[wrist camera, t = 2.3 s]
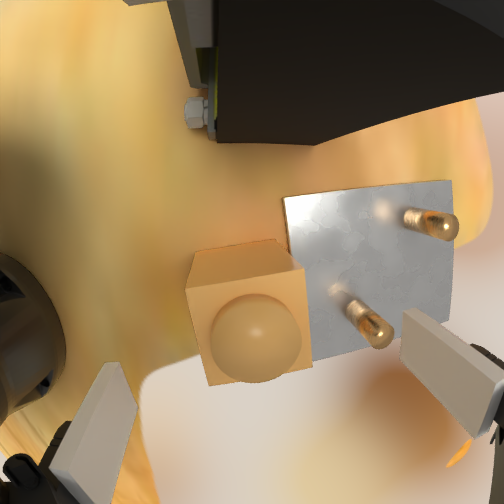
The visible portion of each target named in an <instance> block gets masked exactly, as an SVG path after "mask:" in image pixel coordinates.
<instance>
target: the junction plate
mask: <svg viewBox="0 0 504 504" xmlns="http://www.w3.org/2000/svg"><path fill="white" fill-rule="evenodd" d="M282 200H283V207H284V215H285V222H286V230H287V238H288V246H289V254H290V255H291V256H292V257H293V258H294V259H295V260H296V261H297V262H298V263H299V264H300V265H301V266H302V267H303V268H304V270H305V280H306V290H307V301H308V313H309V325H310V337H311V351H312V361H317V360H321V359H324V358H329V357H333V356H337V355H340V354H344V353H348V352H352V351H355V350H359V349H363V348H366V347H370V346H371V344H370V343H369V342H368V341H367V340H366V339H365V338H364V337H363V336H362V335H361V334H360V332H359V331H358V330H357V329H356V328H355V327H354V326H353V325H352V324H351V323H350V322H349V321H348V319H347V318H346V316H345V310H346V307H347V306H348V304H349V303H350V302H352V301H354V300H361V301H363V302H364V303H366V304H367V305H368V306H369V307H370V308H371V309H373V310H374V311H375V312H376V313H377V314H378V315H380V316H381V317H382V318H383V319H384V320H385V321H386V322H388V323H389V324H390V325H391V326H392V327H393V328H394V331H395V334H394V338H393V339H396V338H400V337H401V333H402V315H403V311H404V310H407V309H411V308H414V307H416V308H418V309H419V310H421V311H422V312H423V313H425V314H426V315H428V316H429V317H431V318H432V319H434V320H435V321H436V322H438V323H439V324H440V323H443V322H445V321H448V320H449V314H450V304H451V292H452V278H453V254H454V240H452V241H449V242H448V241H444V240H441V239H438V238H434V237H431V236H428V235H425V234H421V233H418V232H414V231H411V230H409V229H407V228H406V226H405V224H404V215H405V212H406V211H407V210H408V209H409V208H411V207H416V208H422V209H427V210H433V211H438V212H444V213H449V214H453V195H452V181H451V180H439V181H426V182H414V183H403V184H393V185H382V186H373V187H363V188H354V189H346V190H337V191H329V192H321V193H313V194H305V195H298V196H290V197H283V198H282Z"/></svg>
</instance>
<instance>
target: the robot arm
mask: <svg viewBox="0 0 504 504" xmlns="http://www.w3.org/2000/svg"><path fill="white" fill-rule="evenodd" d="M65 355H66V350H65V340H64V335H63V331H62V327H61V324H60V321H59V318H58V316H57V313H56V311H55V309H54V307H53V305H52V303H51V301H50V299H49V297H48V296H47V294H46V292H45V291H44V289H43V288H42V287H41V285H40V284H39V283H38V281H37V280H36V279H35V278H34V277H33V275H32V274H31V273H30V272H29V271H28V270H27V269H26V268H25V267H23V266H22V265H21V264H20V263H18V262H17V261H16V260H14V259H12V258H11V257H9V256H7V255H4V254H2V253H0V426H1V425H2V423H3V422H4V420H5V419H6V418H7V417H8V416H9V415H10V414H12V413H14V412H16V411H18V410H20V409H21V408H23V407H25V406H27V405H29V404H31V403H33V402H34V401H36V400H38V399H40V398H42V397H43V396H45V395H46V394H47V393H48V392H49V391H50V390H51V388H52V387H53V386H54V384H55V383H56V381H57V380H58V379H59V377H60V375H61V373H62V371H63V368H64V364H65ZM399 359H400V360H401V361H402V362H403V363H404V365H405V366H406V367H408V369H409V370H410V371H411V372H412V373H413V374H414V375H415V376H416V377H417V378H418V379H419V380H420V381H421V382H422V383H423V384H424V385H425V386H426V388H427V389H428V390H429V391H430V392H431V393H432V394H433V395H434V396H435V397H436V398H437V399H438V400H439V401H440V402H441V404H442V405H443V406H444V407H445V408H446V409H447V410H448V411H449V412H450V413H451V414H452V415H453V416H454V418H455V419H456V420H457V421H458V422H459V423H460V424H461V425H462V426H463V427H464V428H465V429H466V431H467V432H468V433H469V434H470V435H471V436H472V437H473V438H474V439H477V438H478V437H480V436H482V435H483V434H485V433H486V432H488V431H489V429H490V427H491V425H492V422H493V420H494V421H495V422H496V423H497V424H498V426H497V428H496V430H495V433H494V434H493V437H492V439H491V441H490V444H492V443H493V441H494V439H495V457H494V468H493V478H492V486H491V494H490V500H489V504H504V362H503V361H502V360H500V359H499V358H498V359H497V357H496V356H495V355H493V354H491V353H490V352H489V351H488V350H486V349H485V348H483V347H481V346H478V345H475V344H470V345H469V344H467V343H466V342H464V341H463V340H462V339H460V338H459V337H458V336H456V335H454V334H453V333H452V332H450V331H449V330H448V329H446V328H445V327H443V326H442V325H441V324H439V323H438V322H436V321H435V320H434V319H432V318H431V317H429V316H428V315H426V314H425V313H423V312H422V311H421V310H419V309H418V308H416V307H414V308H411V309H407V310H404V311H403V315H402V333H401V347H400V358H399ZM137 410H138V406H137V404H136V402H135V399H134V397H133V395H132V392H131V390H130V387H129V385H128V383H127V380H126V378H125V375H124V372H123V370H122V367H121V365H120V362H106V363H104V365H103V366H102V368H101V370H100V372H99V373H98V375H97V377H96V379H95V380H94V382H93V384H92V386H91V388H90V389H89V391H88V393H87V395H86V397H85V398H84V400H83V402H82V404H81V406H80V408H79V409H78V411H77V413H76V415H75V417H74V419H73V421H66V422H65V423H63V424H62V425H61V426H60V427H59V428H58V430H57V431H56V433H55V435H54V437H53V438H54V439H52V441H51V442H50V446H48V448H47V450H46V452H45V454H44V456H43V458H42V459H41V461H40V463H39V465H38V466H37V464H36V463H35V462H34V460H33V459H32V458H31V456H29V455H27V454H23V453H19V454H15V455H13V456H11V457H9V458H8V459H7V461H6V462H5V464H4V466H3V473H4V474H5V475H6V476H7V477H8V479H9V480H10V481H11V482H3V480H2V479H1V478H0V504H111V501H112V497H113V493H114V490H115V486H116V482H117V478H118V475H119V471H120V467H121V464H122V460H123V457H124V453H125V450H126V446H127V443H128V440H129V436H130V433H131V430H132V426H133V423H134V420H135V417H136V413H137Z"/></svg>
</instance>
